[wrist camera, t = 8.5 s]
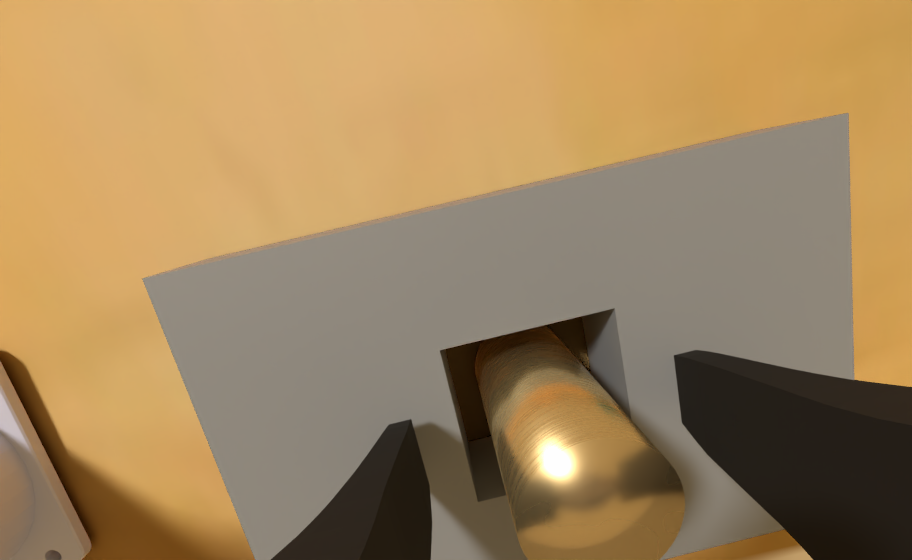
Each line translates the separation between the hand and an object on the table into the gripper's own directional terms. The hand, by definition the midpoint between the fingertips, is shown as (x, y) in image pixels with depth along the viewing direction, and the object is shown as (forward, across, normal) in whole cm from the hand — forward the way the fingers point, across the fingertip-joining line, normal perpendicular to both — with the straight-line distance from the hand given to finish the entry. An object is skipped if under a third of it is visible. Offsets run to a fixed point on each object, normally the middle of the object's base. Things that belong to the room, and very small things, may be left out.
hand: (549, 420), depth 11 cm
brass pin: (+4, 0, 0) cm, 4 cm away
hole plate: (+4, 0, 0) cm, 4 cm away
